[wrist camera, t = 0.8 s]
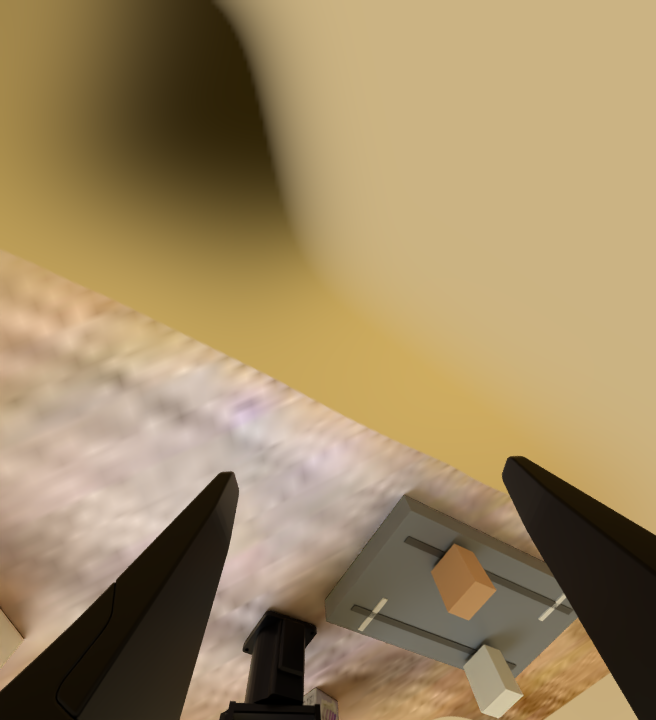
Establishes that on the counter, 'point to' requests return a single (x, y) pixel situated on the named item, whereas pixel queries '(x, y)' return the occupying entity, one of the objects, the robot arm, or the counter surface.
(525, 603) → the panel
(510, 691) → the cream slider
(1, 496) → the counter surface
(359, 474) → the counter surface
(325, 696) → the striped narrow carton
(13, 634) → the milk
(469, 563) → the copper slider
